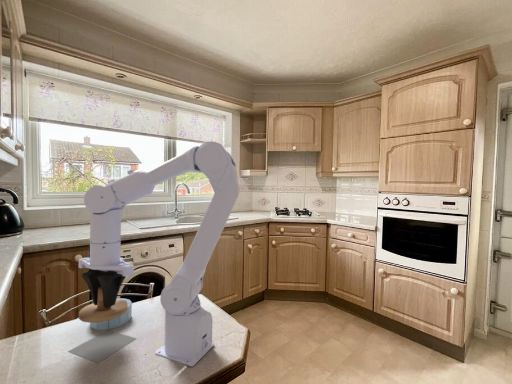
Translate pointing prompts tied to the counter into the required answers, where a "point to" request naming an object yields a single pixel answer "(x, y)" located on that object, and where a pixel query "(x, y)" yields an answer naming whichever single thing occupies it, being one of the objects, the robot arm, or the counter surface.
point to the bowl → (115, 319)
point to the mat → (102, 346)
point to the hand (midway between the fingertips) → (104, 304)
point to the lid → (102, 310)
